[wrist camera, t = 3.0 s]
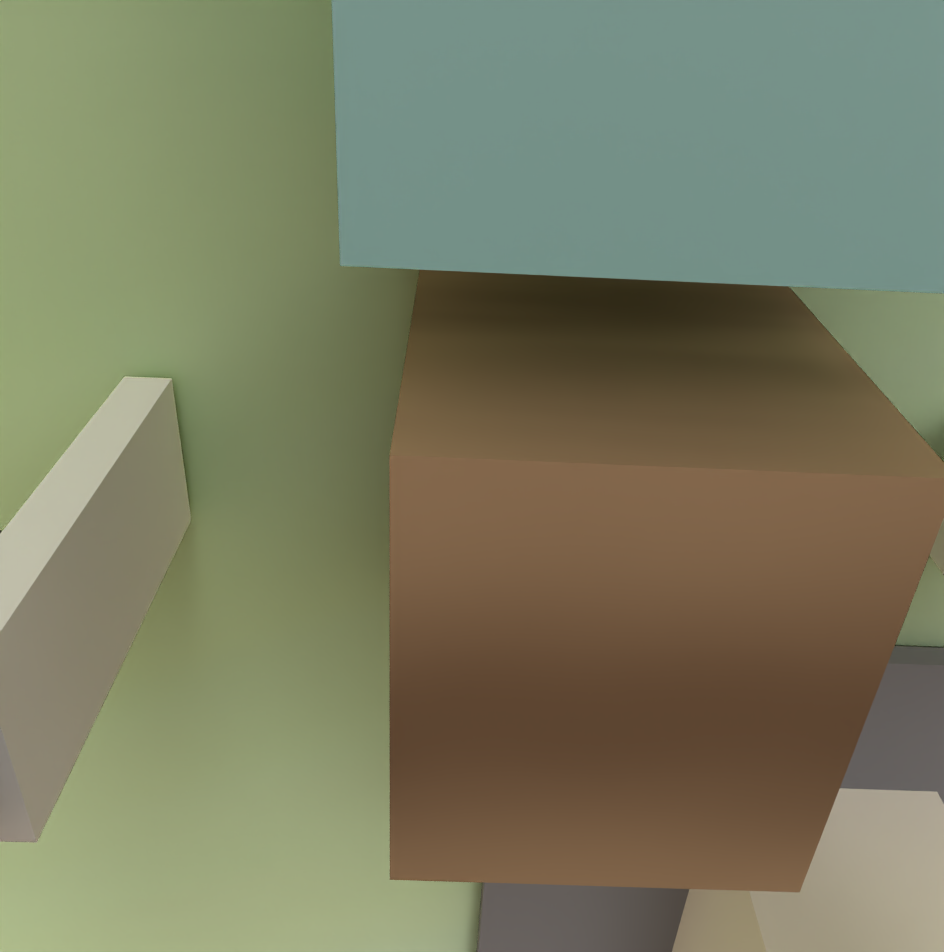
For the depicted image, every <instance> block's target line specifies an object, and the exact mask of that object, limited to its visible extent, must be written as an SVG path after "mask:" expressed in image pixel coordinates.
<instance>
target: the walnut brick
mask: <svg viewBox="0 0 944 952" xmlns="http://www.w3.org/2000/svg"><path fill="white" fill-rule="evenodd" d="M389 505H390V506H389V507H390V880H421V881H452V882H484V883H516V884H548V885H580V886H612V887H644V888H675V889H707V890H739V891H771V892H800V890H801V888H802V885H803V882H804V880H805V877H806V875H807V872H808V869H809V867H810V864H811V862H812V859H813V856H814V854H815V851H816V849H817V846H818V843H819V841H820V838H821V836H822V833H823V830H824V828H825V825H826V823H827V820H828V817H829V815H830V812H831V810H832V807H833V804H834V802H835V799H836V797H837V794H838V791H839V789H840V786H841V784H842V781H843V778H844V776H845V773H846V771H847V768H848V765H849V763H850V760H851V758H852V755H853V752H854V750H855V747H856V745H857V742H858V739H859V737H860V734H861V732H862V729H863V726H864V724H865V721H866V719H867V716H868V713H869V711H870V708H871V706H872V703H873V701H874V698H875V695H876V693H877V690H878V688H879V685H880V682H881V680H882V677H883V675H884V672H885V669H886V667H887V664H888V662H889V659H890V656H891V654H892V651H893V649H894V646H895V643H896V641H897V638H898V636H899V633H900V630H901V628H902V625H903V623H904V620H905V617H906V615H907V612H908V610H909V607H910V604H911V602H912V599H913V597H914V594H915V591H916V589H917V586H918V584H919V581H920V578H921V576H922V573H923V571H924V568H925V565H926V563H927V560H928V558H929V555H930V552H931V550H932V547H933V545H934V542H935V539H936V537H937V534H938V532H939V529H940V526H941V524H942V521H943V519H944V462H943V461H942V459H941V458H940V457H939V456H938V455H937V454H936V453H935V452H934V450H933V449H932V448H931V447H930V446H929V445H928V444H927V443H926V441H925V440H924V439H923V438H922V437H921V436H920V435H919V433H918V432H917V431H916V430H915V429H914V428H913V427H912V426H911V424H910V423H909V422H908V421H907V420H906V419H905V418H904V416H903V415H902V414H901V413H900V412H899V411H898V410H897V409H896V407H895V406H894V405H893V404H892V403H891V402H890V401H889V399H888V398H887V397H886V396H885V395H884V394H883V393H882V392H881V390H880V389H879V388H878V387H877V386H876V385H875V384H874V382H873V381H872V380H871V379H870V378H869V377H868V376H867V375H866V373H865V372H864V371H863V370H862V369H861V368H860V367H859V365H858V364H857V363H856V362H855V361H854V360H853V359H852V358H851V356H850V355H849V354H848V353H847V352H846V351H845V350H844V349H843V347H842V346H841V345H840V344H839V343H838V342H837V341H836V339H835V338H834V337H833V336H832V335H831V334H830V333H829V332H828V330H827V329H826V328H825V327H824V326H823V325H822V324H821V322H820V321H819V320H818V319H817V318H816V317H815V316H814V315H813V313H812V312H811V311H810V310H809V309H808V308H807V307H806V305H805V304H804V303H803V302H802V301H801V300H800V299H799V298H798V296H797V295H796V294H795V293H794V292H793V291H792V290H791V288H790V287H789V286H769V285H747V284H725V283H703V282H681V281H659V280H638V279H616V278H594V277H572V276H550V275H528V274H506V273H484V272H463V271H441V270H419V277H418V283H417V289H416V295H415V301H414V307H413V313H412V320H411V326H410V332H409V338H408V344H407V350H406V357H405V363H404V369H403V375H402V381H401V387H400V393H399V400H398V406H397V412H396V418H395V424H394V430H393V436H392V443H391V449H390V455H389Z"/></svg>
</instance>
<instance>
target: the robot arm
mask: <svg viewBox="0 0 944 952" xmlns="http://www.w3.org/2000/svg"><path fill="white" fill-rule="evenodd" d="M190 522H191V513H190V506H189V499H188V492H187V484H186V477H185V470H184V463H183V455H182V448H181V441H180V434H179V426H178V419H177V412H176V405H175V397H174V390H173V383H172V378H151V377H127V376H124V377H123V379H122V380H121V381H120V382H119V384H118V385H117V386H116V387H115V389H114V390H113V391H112V393H111V394H110V395H109V396H108V398H107V399H106V400H105V401H104V403H103V404H102V405H101V406H100V408H99V409H98V410H97V412H96V413H95V414H94V415H93V417H92V418H91V419H90V420H89V422H88V423H87V424H86V425H85V427H84V428H83V429H82V431H81V432H80V433H79V434H78V436H77V437H76V438H75V439H74V441H73V442H72V443H71V444H70V446H69V447H68V448H67V450H66V451H65V452H64V453H63V455H62V456H61V457H60V458H59V460H58V461H57V462H56V464H55V465H54V466H53V467H52V469H51V470H50V471H49V472H48V474H47V475H46V476H45V477H44V479H43V480H42V481H41V483H40V484H39V485H38V486H37V488H36V489H35V490H34V491H33V493H32V494H31V495H30V496H29V498H28V499H27V500H26V502H25V503H24V504H23V505H22V507H21V508H20V509H19V510H18V512H17V513H16V514H15V516H14V517H13V518H12V519H11V521H10V522H9V523H8V524H7V526H6V527H5V528H4V529H3V531H1V530H0V841H5V842H37V841H38V839H39V837H40V835H41V833H42V831H43V829H44V827H45V824H46V822H47V820H48V818H49V816H50V814H51V812H52V810H53V808H54V806H55V804H56V801H57V799H58V797H59V795H60V793H61V791H62V789H63V787H64V785H65V783H66V781H67V778H68V776H69V774H70V772H71V770H72V768H73V766H74V764H75V762H76V760H77V758H78V756H79V753H80V751H81V749H82V747H83V745H84V743H85V741H86V739H87V737H88V735H89V733H90V730H91V728H92V726H93V724H94V722H95V720H96V718H97V716H98V714H99V712H100V710H101V708H102V705H103V703H104V701H105V699H106V697H107V695H108V693H109V691H110V689H111V687H112V685H113V682H114V680H115V678H116V676H117V674H118V672H119V670H120V668H121V666H122V664H123V662H124V659H125V657H126V655H127V653H128V651H129V649H130V647H131V645H132V643H133V641H134V639H135V637H136V634H137V632H138V630H139V628H140V626H141V624H142V622H143V620H144V618H145V616H146V614H147V611H148V609H149V607H150V605H151V603H152V601H153V599H154V597H155V595H156V593H157V591H158V588H159V586H160V584H161V582H162V580H163V578H164V576H165V574H166V572H167V570H168V568H169V566H170V563H171V561H172V559H173V557H174V555H175V553H176V551H177V549H178V547H179V545H180V543H181V540H182V538H183V536H184V534H185V532H186V530H187V528H188V526H189V524H190ZM929 556H930V557H931V559H932V560H933V561H934V563H935V564H936V565H937V567H938V568H939V569H940V571H941V572H942V573H943V575H944V519H943V521H942V524H941V526H940V529H939V532H938V534H937V537H936V539H935V542H934V545H933V547H932V550H931V552H930V555H929Z"/></svg>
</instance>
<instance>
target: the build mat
mask: <svg viewBox="0 0 944 952" xmlns="http://www.w3.org/2000/svg"><path fill="white" fill-rule="evenodd" d="M477 952H944V648H935V647H909V646H894V649H893V651H892V654H891V656H890V659H889V662H888V664H887V667H886V669H885V672H884V675H883V677H882V680H881V682H880V685H879V688H878V690H877V693H876V695H875V698H874V701H873V703H872V706H871V708H870V711H869V713H868V716H867V719H866V721H865V724H864V726H863V729H862V732H861V734H860V737H859V739H858V742H857V745H856V747H855V750H854V752H853V755H852V758H851V760H850V763H849V765H848V768H847V771H846V773H845V776H844V778H843V781H842V784H841V786H840V789H839V791H838V794H837V797H836V799H835V802H834V804H833V807H832V810H831V812H830V815H829V817H828V820H827V823H826V825H825V828H824V830H823V833H822V836H821V838H820V841H819V843H818V846H817V849H816V851H815V854H814V856H813V859H812V862H811V864H810V867H809V869H808V872H807V875H806V877H805V880H804V882H803V885H802V888H801V890H800V892H771V891H739V890H707V889H675V888H644V887H612V886H580V885H548V884H516V883H484V882H482V893H481V904H480V916H479V928H478V940H477Z"/></svg>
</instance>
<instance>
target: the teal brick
mask: <svg viewBox="0 0 944 952" xmlns="http://www.w3.org/2000/svg"><path fill="white" fill-rule="evenodd" d="M332 26H333V58H334V90H335V122H336V153H337V185H338V217H339V249H340V266H353V267H375V268H397V269H419V270H441V271H463V272H484V273H506V274H528V275H550V276H572V277H594V278H616V279H638V280H659V281H681V282H703V283H725V284H747V285H769V286H790V287H812V288H834V289H856V290H878V291H900V292H922V293H944V0H332Z"/></svg>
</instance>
